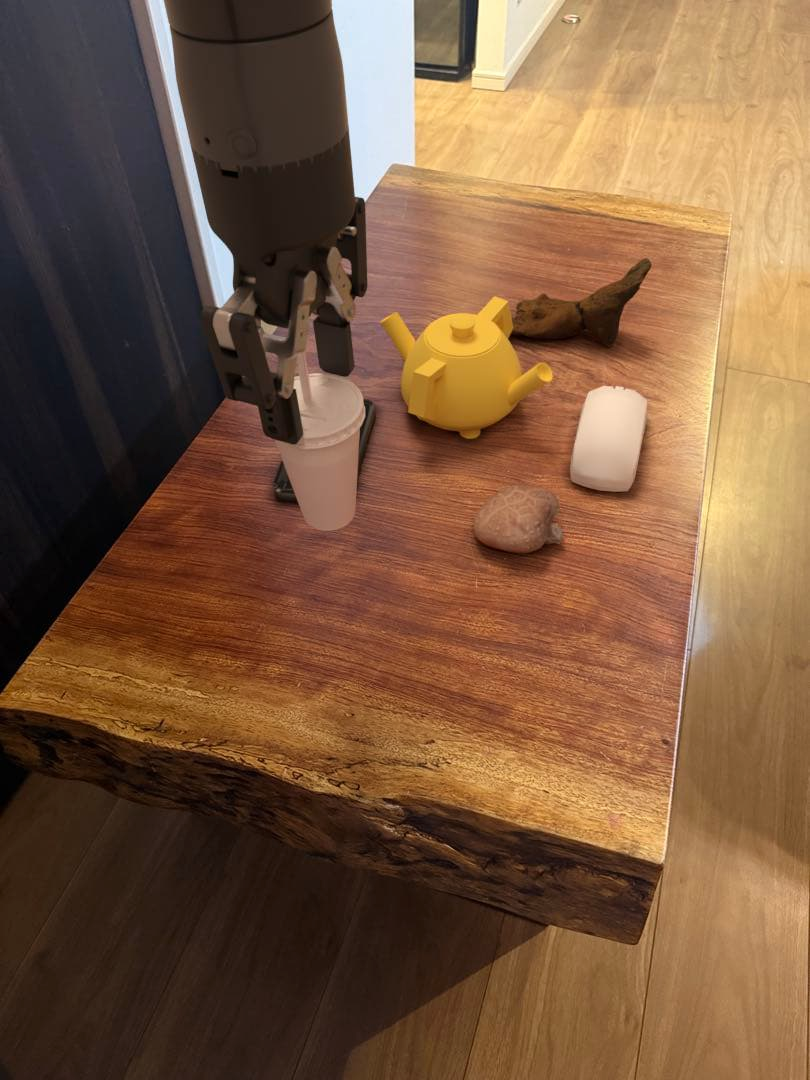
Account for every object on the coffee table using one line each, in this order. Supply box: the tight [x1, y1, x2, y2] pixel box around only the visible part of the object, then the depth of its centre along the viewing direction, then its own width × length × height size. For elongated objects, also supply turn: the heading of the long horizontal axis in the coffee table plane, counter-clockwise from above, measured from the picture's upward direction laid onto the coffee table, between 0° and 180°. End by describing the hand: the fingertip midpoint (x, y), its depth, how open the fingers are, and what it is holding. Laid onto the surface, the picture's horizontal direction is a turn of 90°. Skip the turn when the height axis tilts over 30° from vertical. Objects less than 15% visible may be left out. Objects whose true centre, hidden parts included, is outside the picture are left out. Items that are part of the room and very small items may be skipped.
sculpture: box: [510, 257, 652, 347], centre depth 96 cm, size 8×10×15 cm
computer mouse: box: [569, 385, 648, 493], centre depth 83 cm, size 6×13×6 cm, turn 163°
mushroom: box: [472, 484, 565, 554], centre depth 77 cm, size 8×6×8 cm
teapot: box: [380, 295, 554, 440], centre depth 87 cm, size 20×18×11 cm
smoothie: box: [274, 351, 365, 532], centre depth 54 cm, size 6×6×14 cm
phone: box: [272, 398, 376, 503], centre depth 86 cm, size 8×1×15 cm
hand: (312, 403), depth 52 cm, fingers closed on smoothie, 6 cm apart
